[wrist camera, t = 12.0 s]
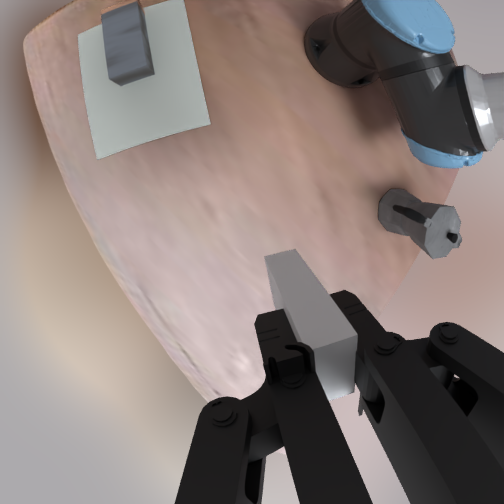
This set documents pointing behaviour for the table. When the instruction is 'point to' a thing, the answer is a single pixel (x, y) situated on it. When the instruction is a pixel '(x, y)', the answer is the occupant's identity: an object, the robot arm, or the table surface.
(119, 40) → the slate block
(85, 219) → the table surface
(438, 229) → the coffeepot
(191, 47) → the sage mat
